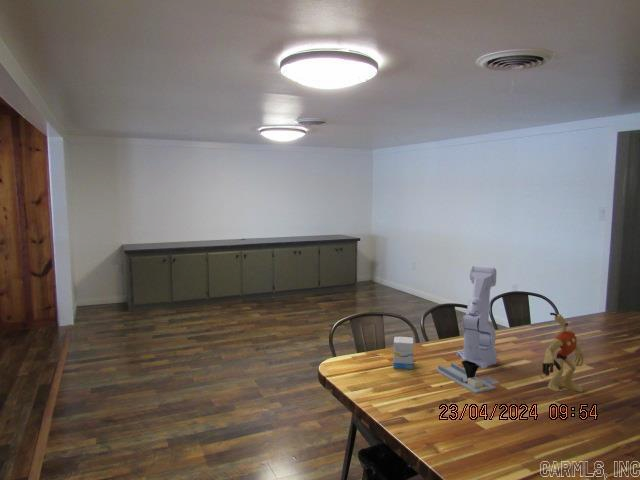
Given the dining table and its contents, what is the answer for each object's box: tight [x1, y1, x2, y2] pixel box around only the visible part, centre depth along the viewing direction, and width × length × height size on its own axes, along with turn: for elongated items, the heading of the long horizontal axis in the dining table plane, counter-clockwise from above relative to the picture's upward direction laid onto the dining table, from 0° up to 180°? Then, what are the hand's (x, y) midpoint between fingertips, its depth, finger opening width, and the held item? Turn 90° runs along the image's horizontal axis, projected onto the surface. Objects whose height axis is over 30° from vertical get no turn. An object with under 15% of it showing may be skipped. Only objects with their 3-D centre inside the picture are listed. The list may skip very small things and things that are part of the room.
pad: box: [479, 376, 501, 385], centre depth 173 cm, size 5×6×2 cm
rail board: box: [435, 362, 497, 394], centre depth 175 cm, size 10×23×4 cm, turn 23°
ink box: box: [392, 336, 414, 370], centre depth 193 cm, size 8×8×12 cm
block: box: [467, 376, 484, 389], centre depth 169 cm, size 4×4×4 cm
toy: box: [542, 312, 586, 397], centre depth 164 cm, size 23×9×30 cm, turn 117°
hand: (470, 379), depth 171 cm, fingers closed
